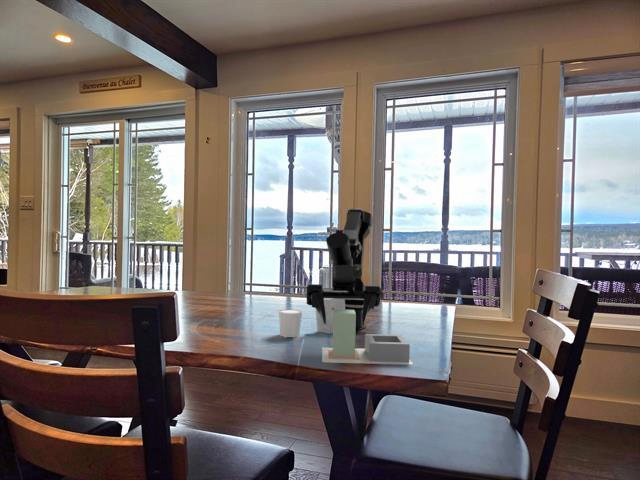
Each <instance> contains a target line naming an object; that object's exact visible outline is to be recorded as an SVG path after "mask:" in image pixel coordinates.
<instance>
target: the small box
mask: <svg viewBox="0 0 640 480" xmlns="http://www.w3.org/2000/svg"><path fill="white" fill-rule="evenodd" d="M324 306H325V313H326V324H324V323H323V321H322V318H321V316H320V314H319V312H318V311H317V309H316V308H315V316H316V317H315V318H316V320H315V321H316V331H317V332H319V333H322V334H323V333H324V334H328V335H333V311H334V309H336V310H345V299H335V298H324Z"/></svg>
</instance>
